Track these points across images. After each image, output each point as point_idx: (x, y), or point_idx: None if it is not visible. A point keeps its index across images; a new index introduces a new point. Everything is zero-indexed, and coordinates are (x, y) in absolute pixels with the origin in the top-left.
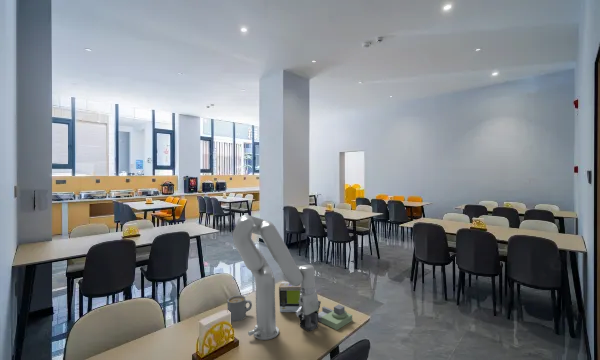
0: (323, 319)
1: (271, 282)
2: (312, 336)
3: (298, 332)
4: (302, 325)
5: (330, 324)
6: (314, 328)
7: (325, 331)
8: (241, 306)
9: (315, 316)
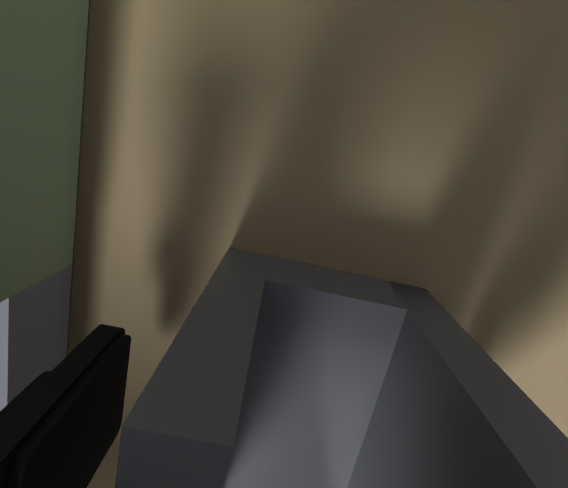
0: (18, 233)
1: None
2: (544, 170)
3: None
4: None
5: (54, 13)
6: (309, 267)
7: (282, 41)
8: None
9: (241, 395)
